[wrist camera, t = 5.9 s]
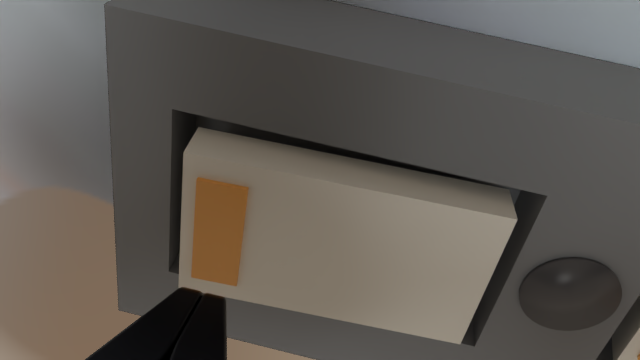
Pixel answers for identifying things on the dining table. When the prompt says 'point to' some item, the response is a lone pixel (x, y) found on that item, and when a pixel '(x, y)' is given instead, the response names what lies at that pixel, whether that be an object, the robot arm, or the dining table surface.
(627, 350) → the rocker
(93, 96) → the dining table surface
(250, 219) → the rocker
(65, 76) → the dining table surface
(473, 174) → the rocker switch box
